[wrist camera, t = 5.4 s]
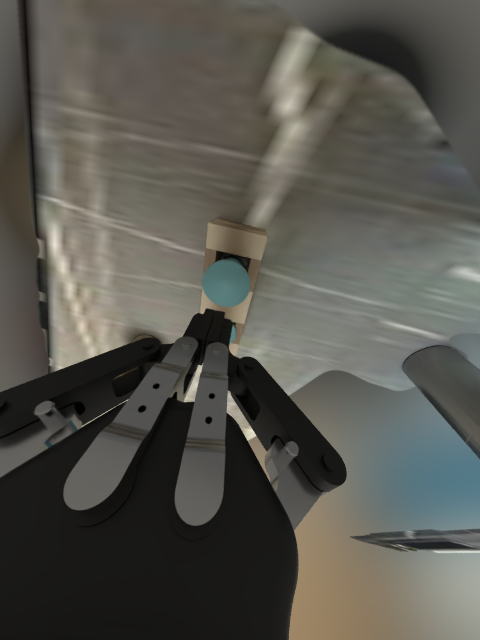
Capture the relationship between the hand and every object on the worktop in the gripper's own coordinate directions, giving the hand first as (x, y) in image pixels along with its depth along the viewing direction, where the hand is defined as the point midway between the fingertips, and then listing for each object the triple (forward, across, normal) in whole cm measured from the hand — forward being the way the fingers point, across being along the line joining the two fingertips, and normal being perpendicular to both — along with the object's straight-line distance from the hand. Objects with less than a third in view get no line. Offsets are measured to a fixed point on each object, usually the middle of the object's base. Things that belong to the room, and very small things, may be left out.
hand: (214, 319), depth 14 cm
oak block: (+17, 0, +5) cm, 18 cm away
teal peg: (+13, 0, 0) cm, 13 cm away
